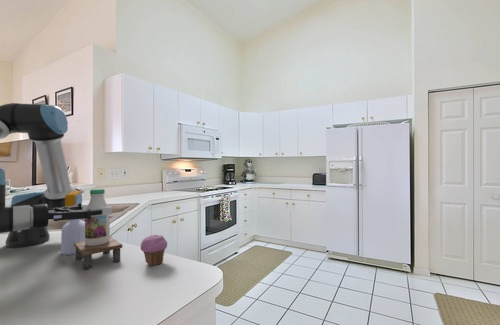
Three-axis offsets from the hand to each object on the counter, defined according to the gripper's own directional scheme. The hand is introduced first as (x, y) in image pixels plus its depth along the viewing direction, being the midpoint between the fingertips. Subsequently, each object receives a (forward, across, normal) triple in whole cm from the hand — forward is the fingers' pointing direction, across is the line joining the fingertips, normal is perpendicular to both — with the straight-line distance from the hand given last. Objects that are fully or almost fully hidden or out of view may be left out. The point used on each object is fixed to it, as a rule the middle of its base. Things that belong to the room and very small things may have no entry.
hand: (106, 208), depth 93 cm
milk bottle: (-3, 0, -13) cm, 13 cm away
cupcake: (+10, +19, -19) cm, 29 cm away
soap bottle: (-7, -18, -19) cm, 27 cm away
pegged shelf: (-3, 0, -18) cm, 19 cm away
